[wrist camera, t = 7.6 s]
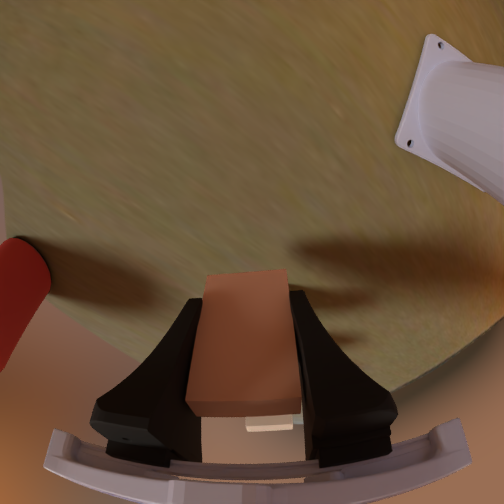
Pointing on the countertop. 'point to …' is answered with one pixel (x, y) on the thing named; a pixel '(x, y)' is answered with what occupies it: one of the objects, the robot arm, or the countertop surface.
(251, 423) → the ivory domino
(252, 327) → the rust domino
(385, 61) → the countertop surface
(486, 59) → the countertop surface
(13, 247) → the beer can
